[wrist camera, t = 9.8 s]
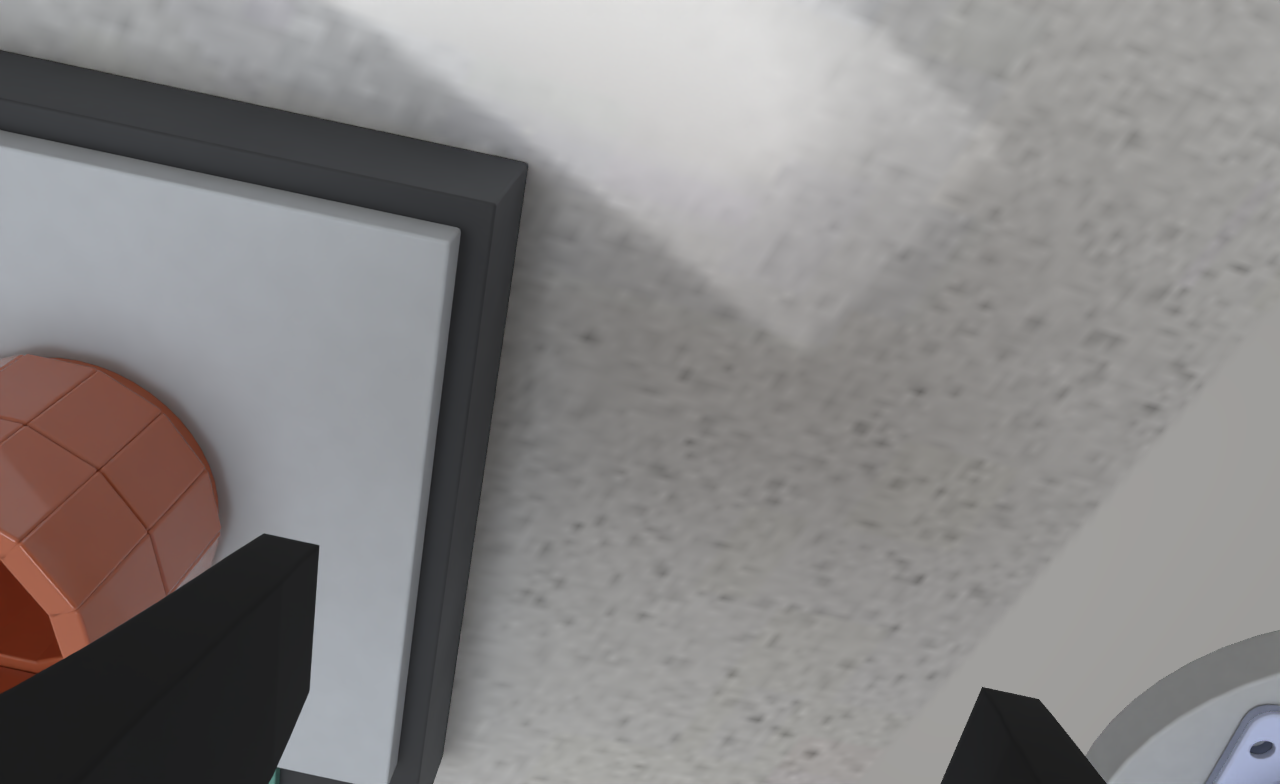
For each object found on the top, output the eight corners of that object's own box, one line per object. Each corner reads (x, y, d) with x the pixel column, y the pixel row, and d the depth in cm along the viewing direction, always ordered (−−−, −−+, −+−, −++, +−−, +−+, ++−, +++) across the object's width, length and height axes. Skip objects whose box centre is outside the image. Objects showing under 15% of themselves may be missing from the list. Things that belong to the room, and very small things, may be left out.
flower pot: (232, 630, 21) (105, 814, 17) (-49, 570, 21) (-244, 739, 17) (238, 381, 18) (91, 525, 14) (-79, 314, 18) (-316, 438, 14)
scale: (442, 757, 26) (399, 880, 23) (-76, 646, 27) (-191, 753, 23) (529, 162, 20) (485, 218, 17) (-162, 15, 20) (-340, 42, 17)
